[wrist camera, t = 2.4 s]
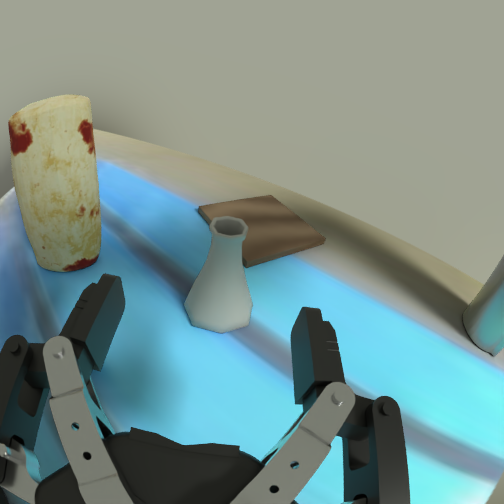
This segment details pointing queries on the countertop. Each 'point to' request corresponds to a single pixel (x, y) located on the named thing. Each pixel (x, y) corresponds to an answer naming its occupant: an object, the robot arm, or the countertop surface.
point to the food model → (57, 181)
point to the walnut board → (266, 228)
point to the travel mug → (3, 497)
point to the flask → (222, 281)
